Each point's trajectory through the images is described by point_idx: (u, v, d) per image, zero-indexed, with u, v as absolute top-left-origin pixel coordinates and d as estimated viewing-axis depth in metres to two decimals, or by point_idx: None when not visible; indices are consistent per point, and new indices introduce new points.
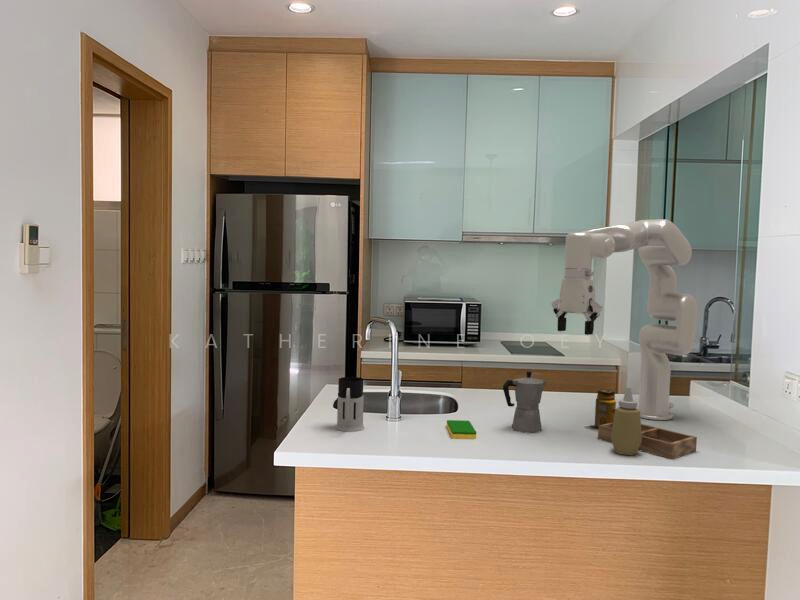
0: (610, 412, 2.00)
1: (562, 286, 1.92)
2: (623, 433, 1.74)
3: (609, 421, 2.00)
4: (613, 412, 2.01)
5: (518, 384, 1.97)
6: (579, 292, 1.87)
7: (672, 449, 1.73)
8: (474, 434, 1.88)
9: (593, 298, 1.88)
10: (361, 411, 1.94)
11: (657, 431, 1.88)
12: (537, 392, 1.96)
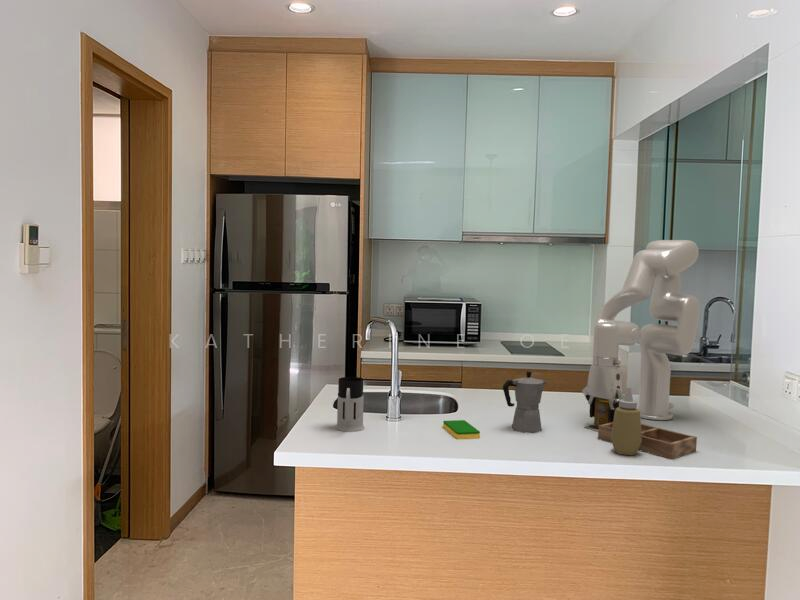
0: None
1: (590, 372, 2.03)
2: (623, 433, 1.74)
3: (608, 421, 2.01)
4: None
5: (518, 384, 1.97)
6: (607, 379, 1.98)
7: (672, 449, 1.73)
8: (478, 433, 1.89)
9: (620, 385, 1.99)
10: (361, 411, 1.94)
11: (657, 431, 1.88)
12: (537, 392, 1.96)
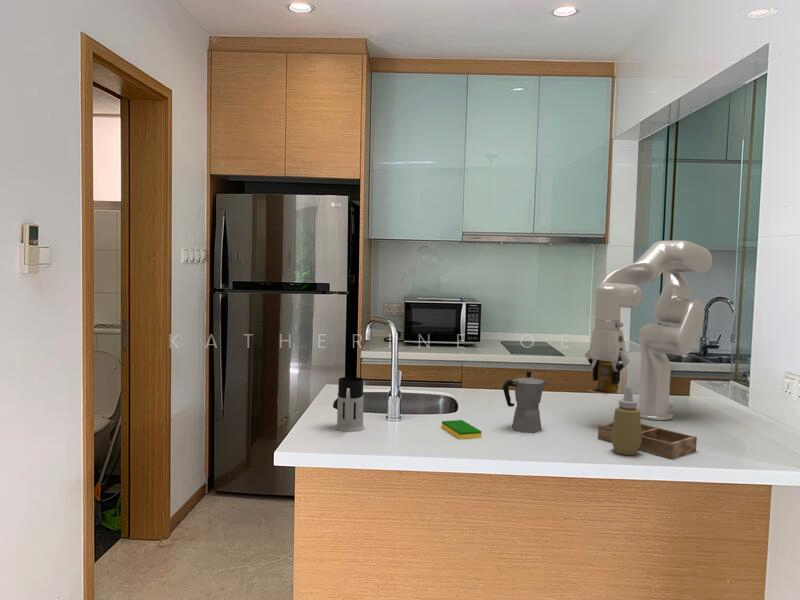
0: None
1: (593, 335, 2.03)
2: (623, 433, 1.74)
3: None
4: None
5: (518, 384, 1.97)
6: (610, 342, 1.98)
7: (672, 449, 1.73)
8: (479, 433, 1.89)
9: (623, 347, 1.99)
10: (361, 411, 1.94)
11: (657, 431, 1.88)
12: (537, 392, 1.96)
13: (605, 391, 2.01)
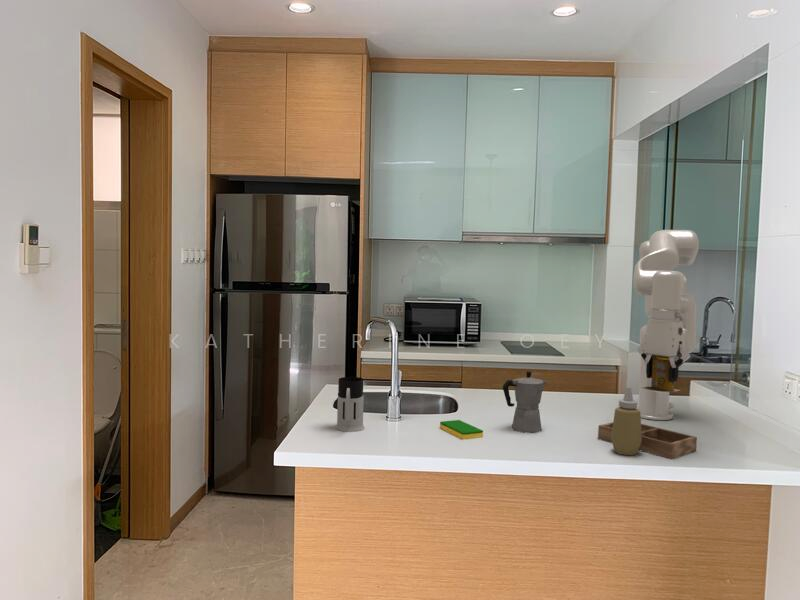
0: None
1: (648, 327, 1.83)
2: (623, 433, 1.74)
3: (668, 381, 1.80)
4: None
5: (518, 384, 1.97)
6: (668, 334, 1.77)
7: (672, 449, 1.73)
8: (481, 432, 1.90)
9: (683, 341, 1.78)
10: (361, 411, 1.94)
11: (657, 431, 1.88)
12: (537, 392, 1.96)
13: (661, 389, 1.80)
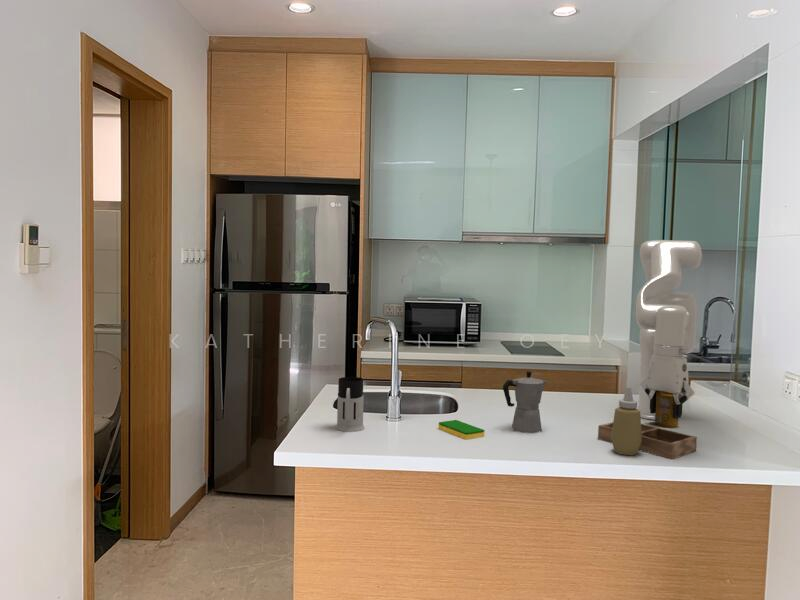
0: None
1: (651, 363, 1.81)
2: (623, 433, 1.74)
3: (672, 417, 1.78)
4: None
5: (518, 384, 1.97)
6: (672, 371, 1.76)
7: (672, 449, 1.73)
8: (483, 432, 1.90)
9: (687, 377, 1.77)
10: (361, 411, 1.94)
11: (657, 431, 1.88)
12: (537, 392, 1.96)
13: (665, 425, 1.79)
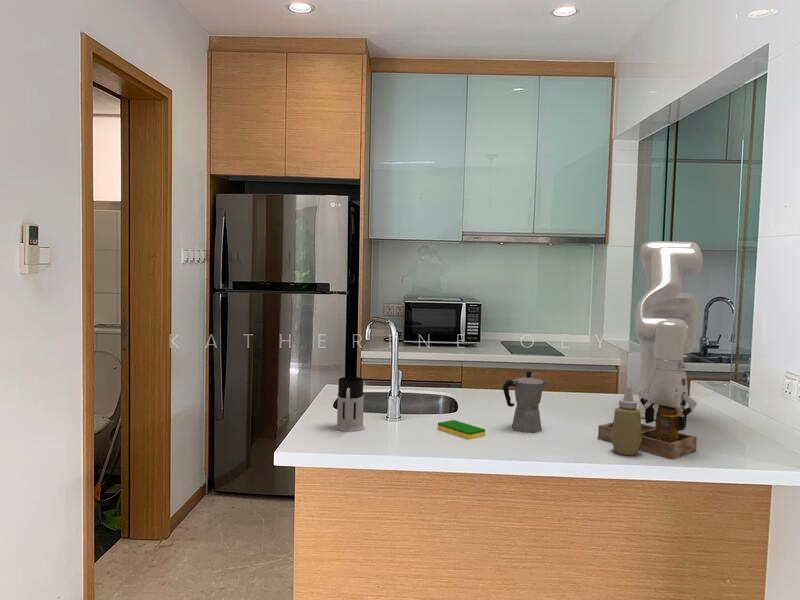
0: (673, 428, 1.79)
1: (651, 376, 1.82)
2: (623, 433, 1.74)
3: (672, 438, 1.79)
4: None
5: (518, 384, 1.97)
6: (672, 385, 1.77)
7: (672, 449, 1.73)
8: (484, 431, 1.91)
9: (686, 391, 1.77)
10: (361, 411, 1.94)
11: None
12: (537, 392, 1.96)
13: None
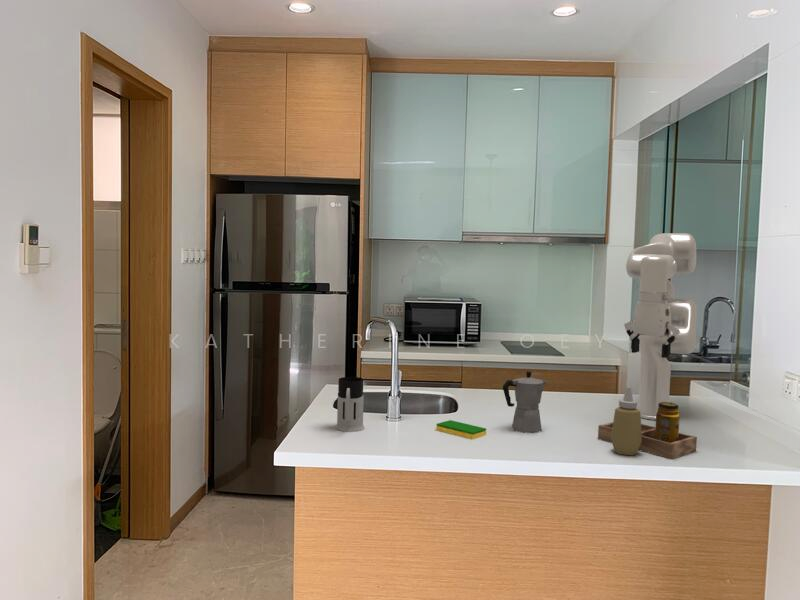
0: (673, 428, 1.79)
1: (637, 309, 1.93)
2: (623, 433, 1.74)
3: (672, 438, 1.79)
4: (677, 428, 1.79)
5: (518, 384, 1.97)
6: (656, 315, 1.88)
7: (672, 449, 1.73)
8: (485, 430, 1.92)
9: (669, 321, 1.89)
10: (361, 411, 1.94)
11: None
12: (537, 392, 1.96)
13: None
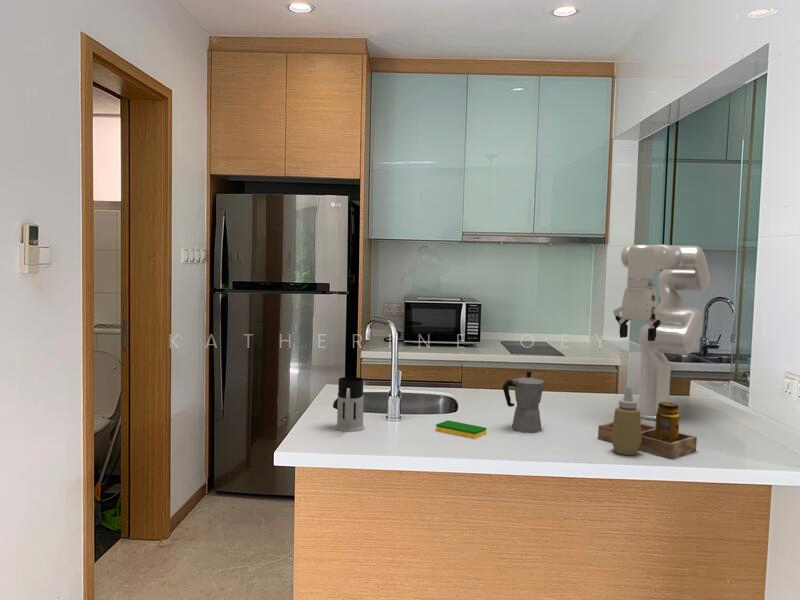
0: (673, 428, 1.79)
1: (625, 295, 2.03)
2: (623, 433, 1.74)
3: (672, 438, 1.79)
4: (677, 428, 1.79)
5: (518, 384, 1.97)
6: (643, 300, 1.98)
7: (672, 449, 1.73)
8: (485, 430, 1.93)
9: (655, 306, 1.99)
10: (361, 411, 1.94)
11: None
12: (537, 392, 1.96)
13: None
